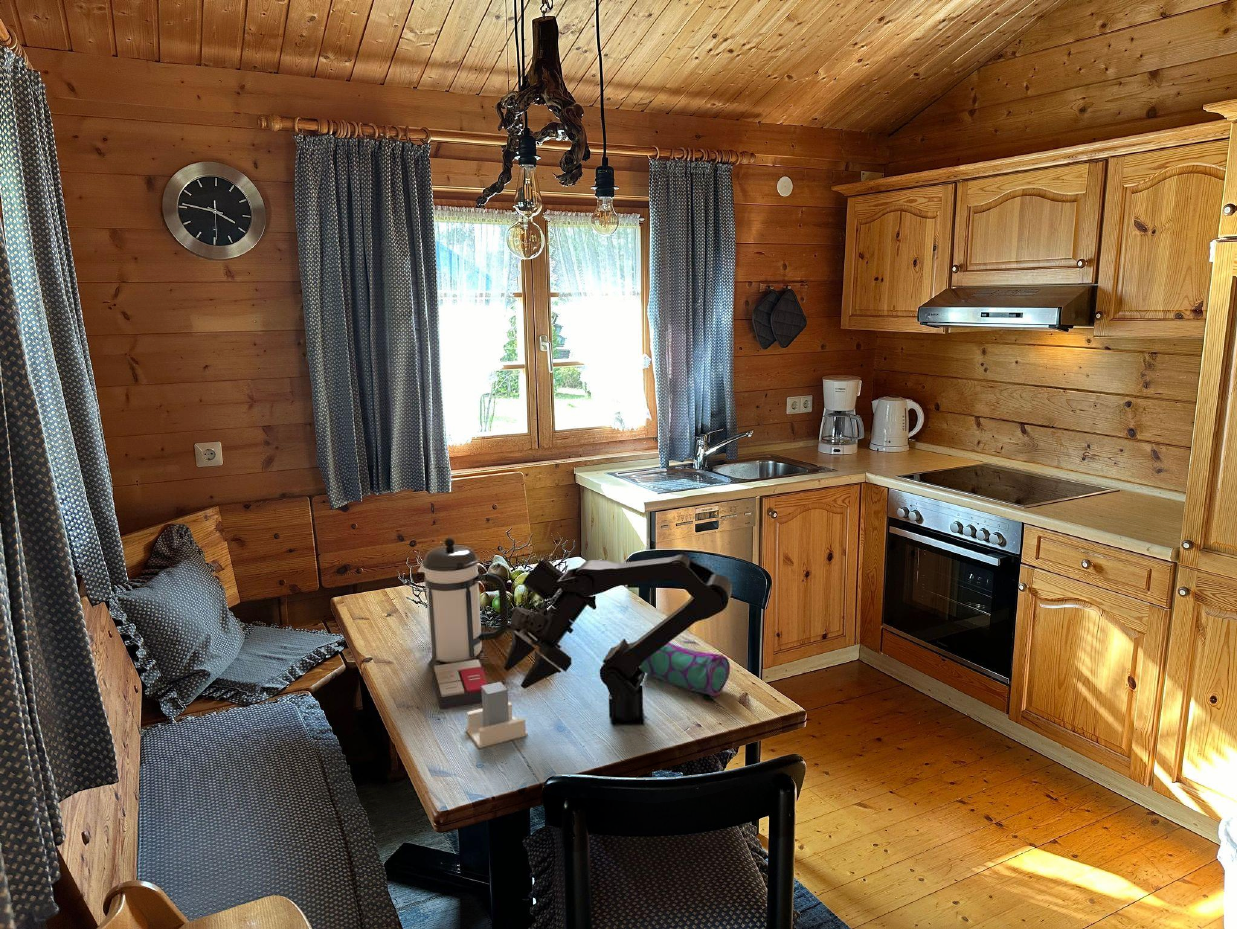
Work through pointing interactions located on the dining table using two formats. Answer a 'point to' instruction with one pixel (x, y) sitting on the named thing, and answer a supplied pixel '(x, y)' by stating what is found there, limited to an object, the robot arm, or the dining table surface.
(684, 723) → the dining table surface
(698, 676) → the pencil case
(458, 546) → the coffee press
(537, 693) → the dining table surface
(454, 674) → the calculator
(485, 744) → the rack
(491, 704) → the grey rectangular prism
